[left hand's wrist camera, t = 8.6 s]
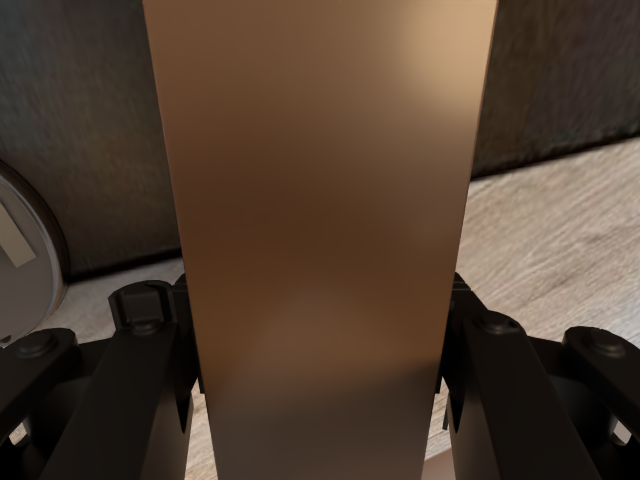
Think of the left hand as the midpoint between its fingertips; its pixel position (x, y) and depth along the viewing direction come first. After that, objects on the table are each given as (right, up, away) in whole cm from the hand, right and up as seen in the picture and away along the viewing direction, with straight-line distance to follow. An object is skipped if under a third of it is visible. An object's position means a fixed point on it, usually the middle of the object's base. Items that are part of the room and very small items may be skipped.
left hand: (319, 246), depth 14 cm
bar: (0, +8, -3) cm, 9 cm away
